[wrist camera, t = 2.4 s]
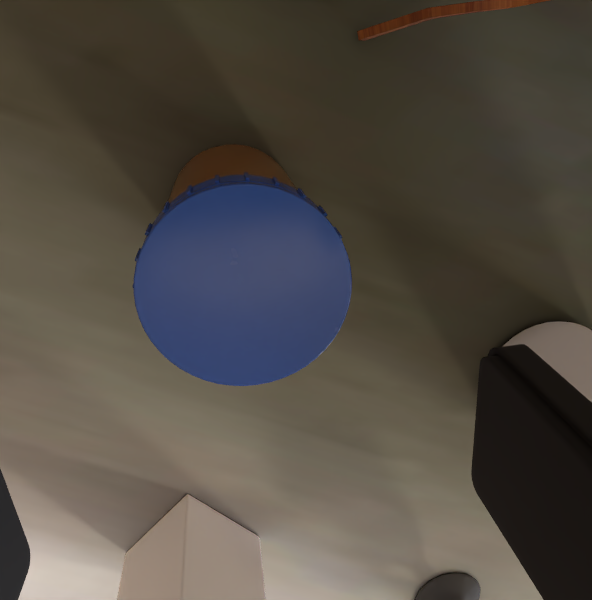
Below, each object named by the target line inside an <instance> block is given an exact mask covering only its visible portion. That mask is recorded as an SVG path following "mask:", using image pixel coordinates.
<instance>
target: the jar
mask: <svg viewBox="0 0 592 600" xmlns="http://www.w3.org/2000/svg"><path fill="white" fill-rule="evenodd" d="M244 172H248V175H254V176H262V177H266V178H270V179H272V178H273V177H276V178H277V180H278V181H279V182H282V183H285V184H287V185H289V186H291V187H293V188H294V189H296V187H295V186H294V184H293V183H292V181H291V180H290V178H289V177H288V175H287V174H286V172H285V171H284V170H283V168H282V167H281V166H280V165H279V164H278V163H277V162H276V161H275V160H274V159H273V158H271V157H270V156H269V155H267V154H265V153H264V152H262V151H260V150H258V149H255V148H252V147H249V146H245V145H237V144H228V145H221V146H216V147H213V148H210V149H207V150H205V151H203V152H201V153H200V154H198V155H197V156H195V157H194V158H193V159H191V160H190V161H189V162H188V163H187V164H186V165H185V166H184V168H183V169H182V170H181V172H180V173H179V175H178V177H177V179H176V181H175V183H174V186H173V189H172V192H171V195H170V198H169V201H168V202H169V203H170V202H171V201H172V200H174V199H175V198H176V197H177V196H178V195H180V194H181V193H183V192H185V191H186V190H187V188H188V186H189V185H192V187H193V186H195V185H197V184H200V183H202V182H204V181H207V180H211V179H214V178H215V175H219V177H223V176H229V175H244ZM296 190H297V189H296Z"/></svg>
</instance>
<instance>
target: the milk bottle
mask: <svg viewBox="0 0 592 600" xmlns="http://www.w3.org/2000/svg"><path fill="white" fill-rule="evenodd" d="M518 344H525V345H526V346H528V347H529V348H530V349H532V350H533V351H534V352H535V353H536V354H537V355H538V356H540V357H541V358H542V359H543V360H544V361H545V362H546V363H548V364H549V365H550V366H551V367H552V368H553V369H554V370H555V371H557V372H558V373H559V374H560V375H561V376H562V377H563V378H565V379H566V380H567V381H568V382H569V383H570V384H571V385H573V386H574V387H575V388H576V389H577V390H578V391H579V392H580V393H582V394H583V395H584V396H585V397H586V398H587V399H588V400H590V401H591V402H592V330H590V329H588V328H587V327H585V326H582V325H580V324H576V323H571V322H561V321H557V322H546V323H542V324H538V325H535V326H532V327H530V328H528V329H526V330H523V331H522V332H520V333H519V334H517V335H516V336H514V337H512V338H511V339H510V340H509V341H508V342H507V343H506V344H504V345H503V346H502V347H504V346H511V345H518Z"/></svg>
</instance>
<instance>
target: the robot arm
mask: <svg viewBox="0 0 592 600" xmlns="http://www.w3.org/2000/svg"><path fill="white" fill-rule="evenodd" d="M472 481H473V485H474V488H475V490H476V492H477V494H478V496H479V497H480V499H481V501H482V502H483V504H484V505H485V507H486V509H487V510H488V512H489V513H490V515H491V517H492V518H493V520H494V521H495V523H496V524H497V526H498V528H499V529H500V531H501V532H502V534H503V536H504V537H505V539H506V540H507V542H508V544H509V545H510V547H511V548H512V550H513V552H514V553H515V555H516V556H517V558H518V559H519V561H520V563H521V564H522V566H523V567H524V569H525V571H526V572H527V574H528V575H529V577H530V579H531V580H532V582H533V583H534V585H535V587H536V588H537V590H538V591H539V593H540V595H541V596H542V598H543V599H544V600H592V402H591V401H590V400H588V399H587V398H586V397H585V396H584V395H583V394H582V393H580V392H579V391H578V390H577V389H576V388H575V387H574V386H573V385H571V384H570V383H569V382H568V381H567V380H566V379H565V378H563V377H562V376H561V375H560V374H559V373H558V372H557V371H555V370H554V369H553V368H552V367H551V366H550V365H549V364H548V363H546V362H545V361H544V360H543V359H542V358H541V357H540V356H538V355H537V354H536V353H535V352H534V351H533V350H532V349H530V348H529V347H528V346H526V345H525V344H518V345H511V346H504V347H496V348H492V349H491V350H490V352H489V354H488V357H484V358H482V360H481V362H480V369H479V382H478V395H477V407H476V420H475V433H474V446H473V459H472ZM29 565H30V548H29V545H28V542H27V539H26V537H25V534H24V531H23V528H22V526H21V523H20V520H19V518H18V515H17V512H16V510H15V507H14V504H13V501H12V499H11V496H10V493H9V491H8V488H7V485H6V483H5V480H4V477H3V475H2V472H1V469H0V600H18V598H19V595H20V592H21V589H22V587H23V584H24V581H25V578H26V575H27V573H28V569H29Z"/></svg>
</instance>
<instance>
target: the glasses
mask: <svg viewBox="0 0 592 600" xmlns="http://www.w3.org/2000/svg"><path fill="white" fill-rule="evenodd" d="M544 1H549V0H484V1H475V2H467V3H460V4H453V5H446V6H438V7H431V8H426V9H423V10H420V11H417V12H414V13H411V14H408V15H405V16H402V17H399V18H396V19H393V20H390V21H387V22H384V23H381V24H378V25H375V26H372V27H369V28H366V29H363V30H360V31H357V32H358V38H359V40H363V41H365V40H368V39H371V38H374V37H377V36H380V35H384V34H387V33H390V32H393V31H396V30H399V29H402V28H406V27H409V26H412V25H415V24H418V23H421V22H424V21H428V20H431V19H435V18H441V17H448V16H454V15H461V14H467V13H474V12H482V11H490V10H499V9H507V8H512V7H518V6H523V5H528V4H533V3H539V2H544Z"/></svg>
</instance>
